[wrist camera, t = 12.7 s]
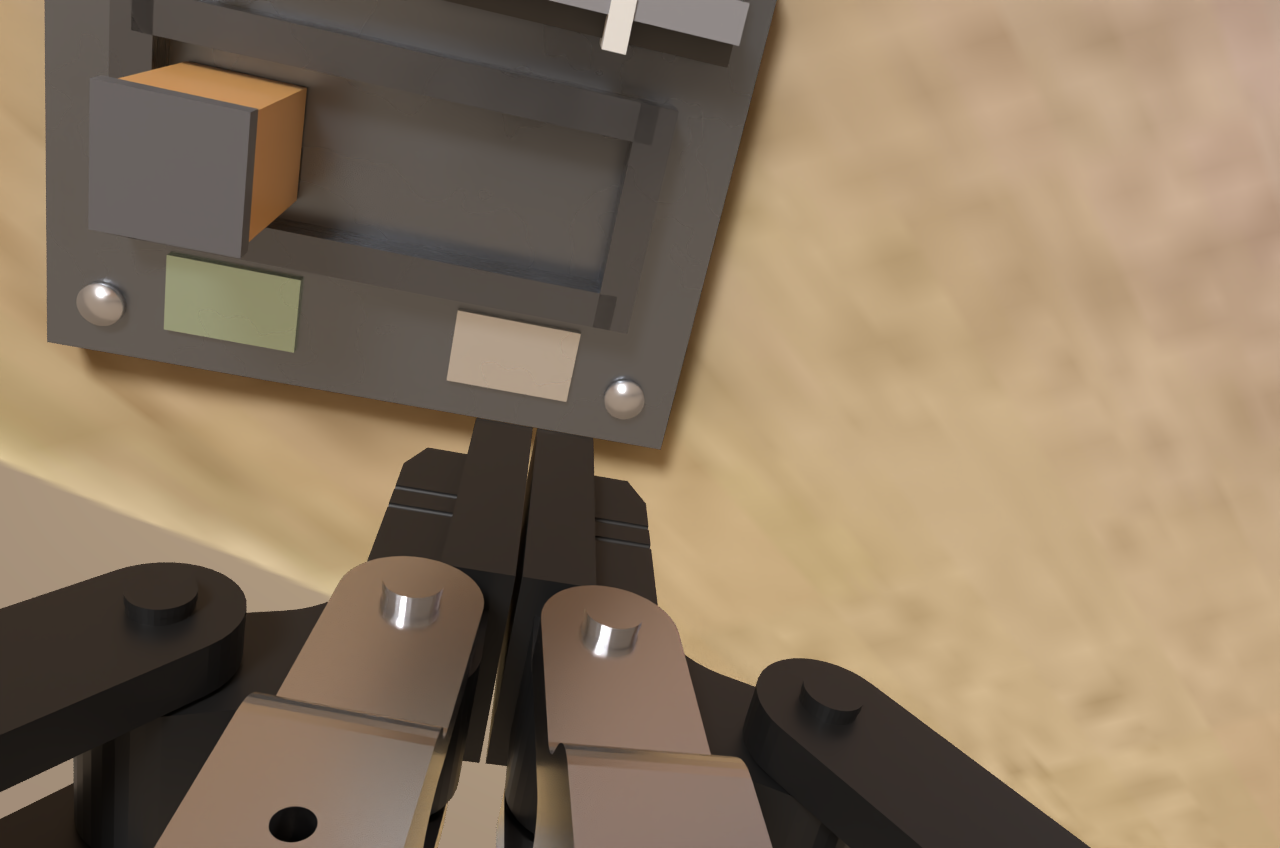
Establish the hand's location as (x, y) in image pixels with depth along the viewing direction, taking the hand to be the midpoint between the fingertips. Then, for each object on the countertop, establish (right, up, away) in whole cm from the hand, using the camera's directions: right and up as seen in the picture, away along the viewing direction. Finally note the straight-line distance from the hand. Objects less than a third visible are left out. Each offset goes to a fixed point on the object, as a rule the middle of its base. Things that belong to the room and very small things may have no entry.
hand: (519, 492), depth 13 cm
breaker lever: (-9, +9, +14) cm, 19 cm away
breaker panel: (-5, +9, +16) cm, 19 cm away
